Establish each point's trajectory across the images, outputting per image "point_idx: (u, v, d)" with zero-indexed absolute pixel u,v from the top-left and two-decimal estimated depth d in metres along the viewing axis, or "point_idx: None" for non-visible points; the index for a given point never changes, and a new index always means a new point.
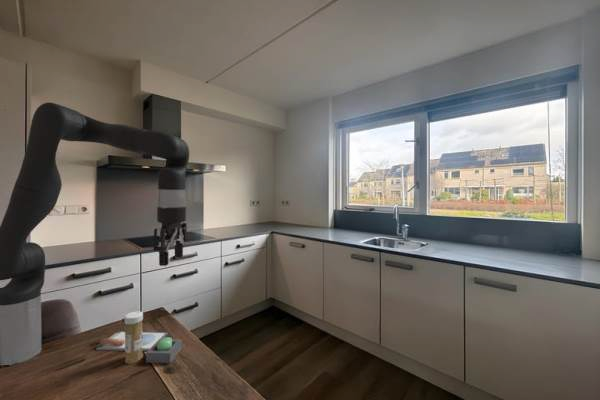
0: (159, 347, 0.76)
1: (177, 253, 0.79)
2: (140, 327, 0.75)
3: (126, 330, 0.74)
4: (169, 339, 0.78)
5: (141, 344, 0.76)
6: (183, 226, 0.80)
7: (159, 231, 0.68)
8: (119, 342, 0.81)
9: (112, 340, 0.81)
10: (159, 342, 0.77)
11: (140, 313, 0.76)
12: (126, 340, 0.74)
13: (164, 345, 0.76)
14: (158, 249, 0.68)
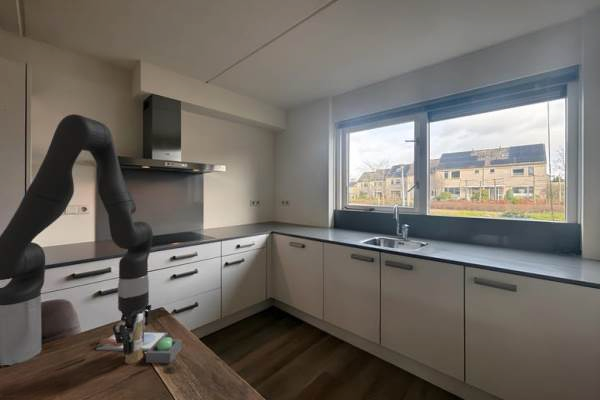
0: (159, 347, 0.76)
1: None
2: (140, 327, 0.75)
3: None
4: (169, 339, 0.78)
5: (141, 344, 0.76)
6: (147, 308, 0.81)
7: (118, 329, 0.69)
8: None
9: (112, 340, 0.81)
10: (159, 342, 0.77)
11: (140, 313, 0.76)
12: None
13: (164, 345, 0.76)
14: (121, 341, 0.70)
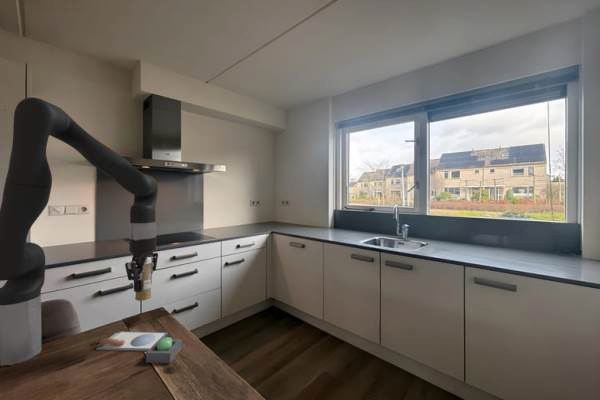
0: (159, 347, 0.76)
1: None
2: (149, 269, 0.83)
3: None
4: (169, 339, 0.78)
5: (149, 285, 0.84)
6: (154, 255, 0.89)
7: (129, 265, 0.77)
8: (119, 342, 0.81)
9: (112, 340, 0.81)
10: (159, 342, 0.77)
11: (149, 257, 0.84)
12: None
13: (164, 345, 0.76)
14: (132, 278, 0.78)
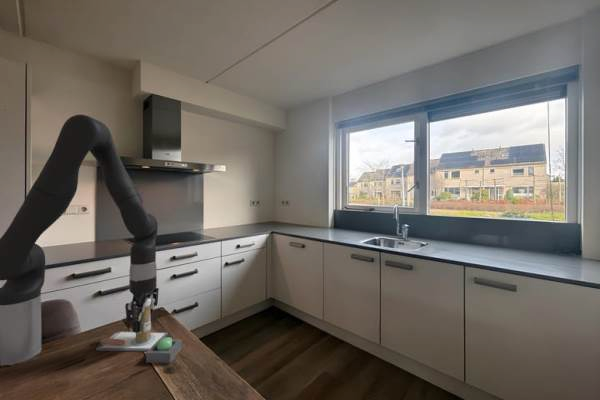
0: (159, 347, 0.76)
1: None
2: (148, 311, 0.84)
3: None
4: (169, 339, 0.78)
5: (149, 326, 0.84)
6: (155, 291, 0.89)
7: (130, 306, 0.77)
8: (119, 342, 0.81)
9: (112, 340, 0.81)
10: (159, 342, 0.77)
11: (148, 298, 0.84)
12: None
13: (164, 345, 0.76)
14: (130, 320, 0.78)
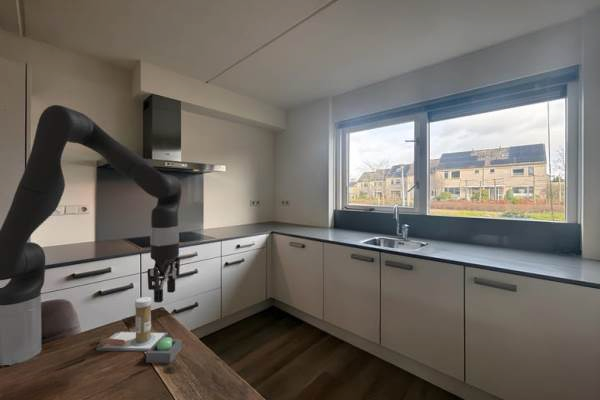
0: (159, 347, 0.76)
1: (170, 288, 0.81)
2: (149, 311, 0.84)
3: (136, 313, 0.82)
4: (169, 339, 0.78)
5: (149, 326, 0.84)
6: (176, 260, 0.83)
7: (152, 272, 0.70)
8: (119, 342, 0.81)
9: (112, 340, 0.81)
10: (159, 342, 0.77)
11: (149, 298, 0.85)
12: (136, 322, 0.82)
13: (164, 345, 0.76)
14: (152, 287, 0.71)
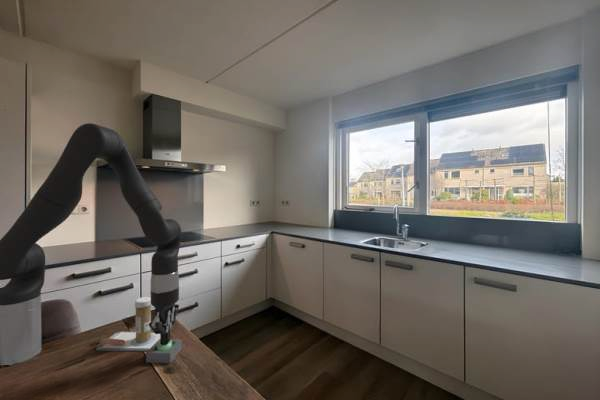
0: None
1: None
2: (149, 311, 0.84)
3: (136, 313, 0.82)
4: (169, 342, 0.78)
5: None
6: (175, 307, 0.82)
7: (154, 326, 0.71)
8: (119, 342, 0.81)
9: (112, 340, 0.81)
10: (159, 345, 0.77)
11: (149, 298, 0.85)
12: (136, 322, 0.82)
13: (164, 347, 0.76)
14: (159, 332, 0.74)
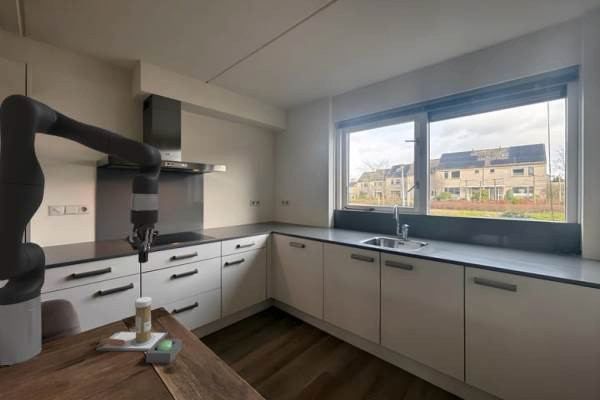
0: None
1: None
2: (149, 311, 0.84)
3: (136, 313, 0.82)
4: (169, 342, 0.78)
5: (149, 326, 0.84)
6: (155, 232, 0.87)
7: (131, 239, 0.76)
8: (119, 342, 0.81)
9: (112, 340, 0.81)
10: (159, 345, 0.77)
11: (149, 298, 0.85)
12: (136, 322, 0.82)
13: (164, 348, 0.76)
14: (137, 248, 0.79)
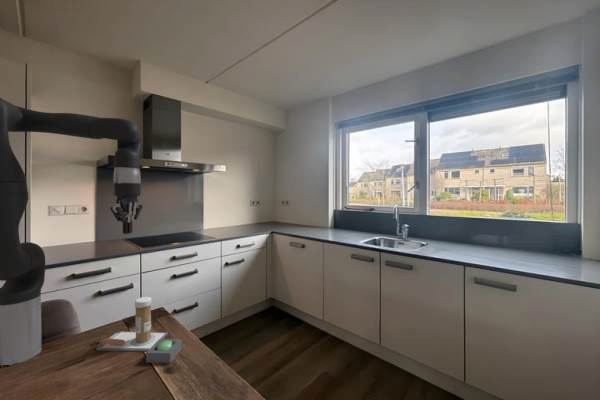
0: None
1: None
2: (149, 311, 0.84)
3: (136, 313, 0.82)
4: (169, 342, 0.78)
5: (149, 326, 0.84)
6: (138, 206, 0.91)
7: (115, 210, 0.81)
8: (119, 342, 0.81)
9: (112, 340, 0.81)
10: (159, 345, 0.77)
11: (149, 298, 0.85)
12: (136, 322, 0.82)
13: (164, 348, 0.76)
14: (120, 219, 0.83)
